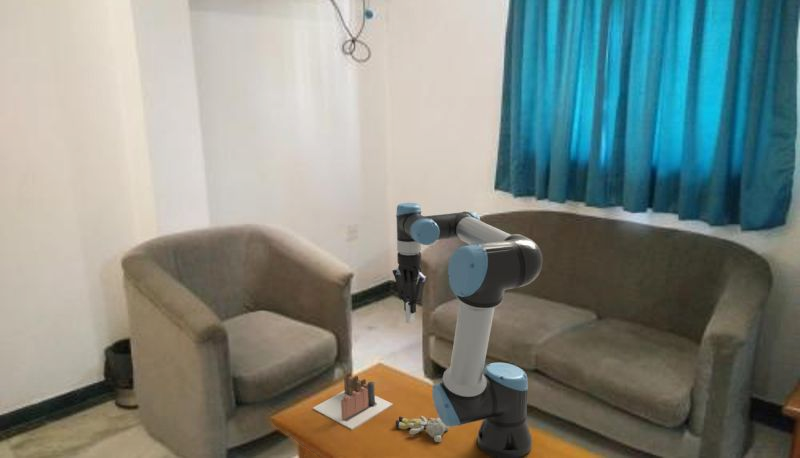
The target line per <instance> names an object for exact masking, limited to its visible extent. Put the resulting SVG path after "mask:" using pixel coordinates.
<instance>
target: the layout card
mask: <svg viewBox="0 0 800 458" xmlns="http://www.w3.org/2000/svg"><path fill="white" fill-rule="evenodd" d="M345 395H346V396H348V397H349V396H351V395H349V394H347V393H345V390H343V391H341V392H340V393H337V394H335V395H333V396H332V397H330V398H328V399H326V400H324V401H323V402H321V403H319V404H316V405H315V406H313V407H312V410H314V411H316V412H319V413H320V414H322V415H323V416H325V417H327V418H328V419H331V420H333V421H335V422H337V423H339V424H340V425H342V426H344V427H346V428H348V429H349V430H354V429H356V428H358V427H360V426H361V425H363V424H364V423H366V422H368V421H370V420H371V419H373V418H374V417H376V416H377V415H379V414H381V413H382V412H384V411H386V410H387V409H389V408H390V407H392V406H393V405H394V404H393V403H392V402H390V401H388V400H385V399H383V398H381V397H379V396H377V395H375V405H373V406H370V405H369V401H368V407H367V408H365V409H363V410H361V411H360V412H358V413H356V414H354V415H352V416H350V417H349V418H347V419H345V420H344V419H342V411H341V400H343V399H344V398H343V396H345Z"/></svg>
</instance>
